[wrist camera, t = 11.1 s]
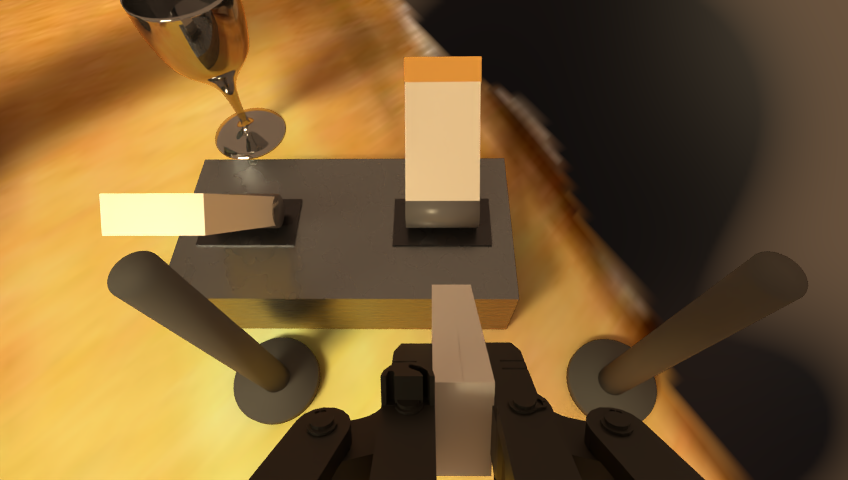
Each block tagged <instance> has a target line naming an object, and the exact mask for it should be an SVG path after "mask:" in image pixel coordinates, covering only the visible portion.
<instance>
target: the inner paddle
mask: <svg viewBox="0 0 848 480" xmlns="http://www.w3.org/2000/svg"><path fill="white" fill-rule="evenodd" d="M99 196H100V212H101V227H102V236H205V235H212V234H220V233H227V232H234V231H241V230H248V229H256V228H280V227H281V226H282V224H283V221H284V203H283V199H282V197H281V195H280V194H207V193H146V194H99Z"/></svg>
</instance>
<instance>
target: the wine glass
mask: <svg viewBox="0 0 848 480" xmlns="http://www.w3.org/2000/svg"><path fill="white" fill-rule="evenodd" d="M120 2H121V4H122V6H123V8H124V10H125V11H126V13H127V14H128V16H129V18H130V19H131V21H132V22H133V24H134V25H135V27H136V28H137V30H138V31H139V33H140V34H141V35H142V37H143V38H144V40H145V41H146V42H147V43H148V45H149V46H150V47H151V48H152V49H153V50H154V52H155V53H156V54H157V55H158V56H159V57H160V58H161V59H162V60H163V61H164V62H165V63H166V64H167V65H168V66H169V67H170V68H172V69H173V70H174V71H175V72H177V73H178V74H180V75H182V76H184V77H186V78H189V79H191V80H195V81H198V82H201V83H204V84H208V85H211V86H213V87H215V88H216V89H218V90H219V91H220V92H222V94H223V95H224V96H225V97H226V99H227V100H228V101H229V103H230V104H231V106H232V107H233V109H234V110H235V112H236V113H235V114H233V115H231V116H230V117H228V118H227V119H226V120H225V121H224V122H223V123H222V124H221V125H220V127H219V128H218V130H217V132H216V136H215V143H216V146H217V148H218V149H219V151H220V152H221V153H222V154H224V155H225V156H227V157H230V158H233V159H239V160H246V159H253V158H257V157H260V156H263V155H265V154H267V153H269V152H270V151H272V150H273V149H274V148H276V147H277V146H278V145H279V143H280V142H281V141H282V139H283V137H284V135H285V130H286V127H285V122H284V120H283V119H282V117H281V116H280V115H279V114H277V113H276V112H274V111H272V110H269V109H264V108H250V109H245V110H243V107H242V105H241V102H240V99H239V96H238V93H237V89H236V80H237V76H238V74H239V72H240V70H241V68H242V66H243V64H244V62H245V60H246V58H247V55H248V51H249V34H248V27H247V21H246V16H245V12H244V8H243V5H242V2H241V0H120Z"/></svg>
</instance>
